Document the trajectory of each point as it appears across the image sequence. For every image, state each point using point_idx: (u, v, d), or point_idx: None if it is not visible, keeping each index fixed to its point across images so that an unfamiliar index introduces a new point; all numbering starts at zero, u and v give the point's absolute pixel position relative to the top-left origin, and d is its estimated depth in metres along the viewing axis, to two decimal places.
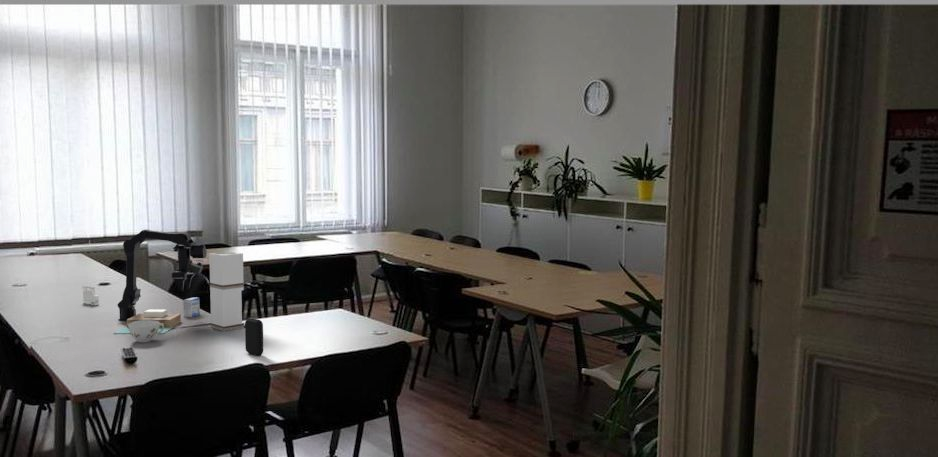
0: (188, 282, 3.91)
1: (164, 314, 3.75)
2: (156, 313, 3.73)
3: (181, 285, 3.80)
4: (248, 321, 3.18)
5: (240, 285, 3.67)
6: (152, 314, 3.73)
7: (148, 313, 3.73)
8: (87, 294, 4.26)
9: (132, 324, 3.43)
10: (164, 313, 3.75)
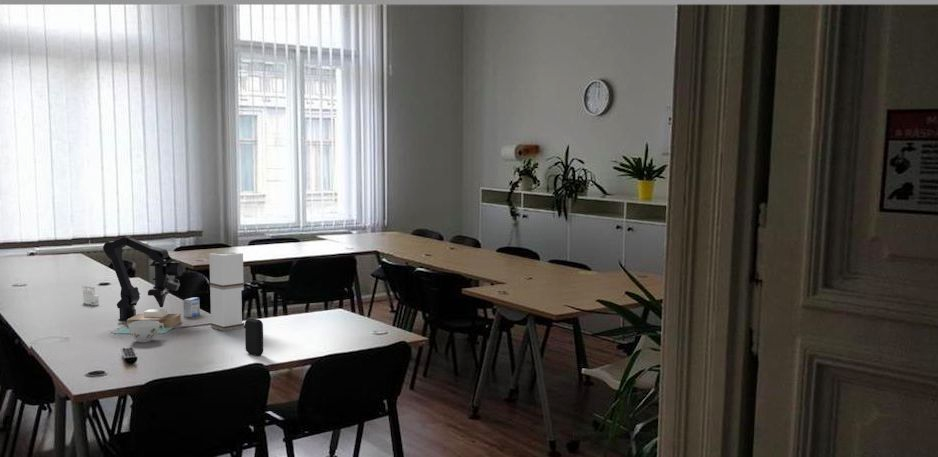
0: None
1: (164, 314, 3.75)
2: (156, 313, 3.73)
3: (161, 301, 3.82)
4: (248, 321, 3.18)
5: (240, 285, 3.67)
6: (152, 314, 3.73)
7: (148, 313, 3.73)
8: (87, 294, 4.26)
9: (132, 324, 3.43)
10: (164, 313, 3.75)
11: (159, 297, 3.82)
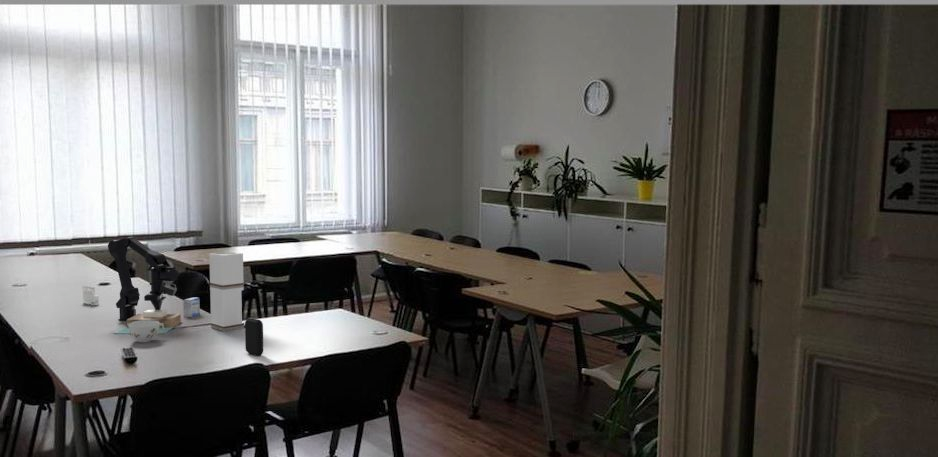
0: None
1: (163, 314, 3.74)
2: (155, 313, 3.72)
3: (157, 306, 3.78)
4: (248, 321, 3.18)
5: (240, 285, 3.67)
6: (151, 314, 3.72)
7: (147, 313, 3.72)
8: (87, 294, 4.26)
9: (132, 324, 3.43)
10: (163, 313, 3.75)
11: (156, 302, 3.77)
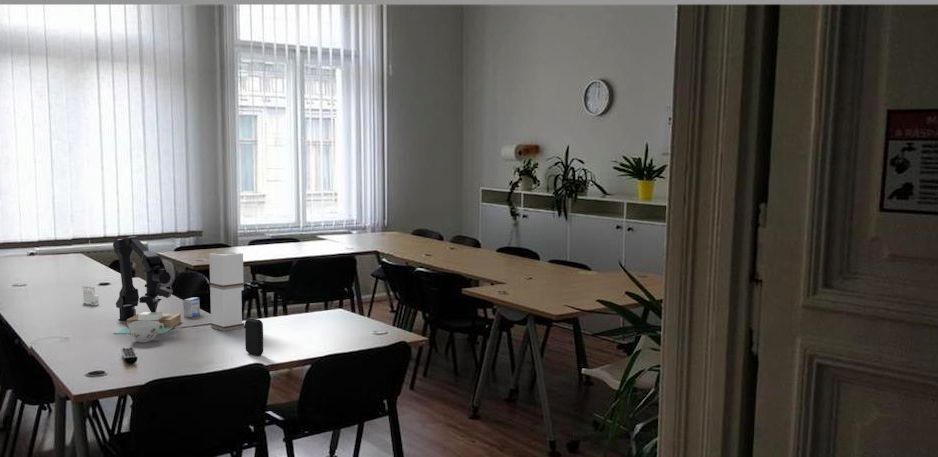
0: None
1: (159, 317, 3.69)
2: (151, 316, 3.66)
3: (153, 308, 3.72)
4: (248, 321, 3.18)
5: (240, 285, 3.67)
6: (147, 317, 3.66)
7: (143, 316, 3.66)
8: (87, 294, 4.26)
9: (132, 324, 3.43)
10: (159, 315, 3.69)
11: (151, 304, 3.72)
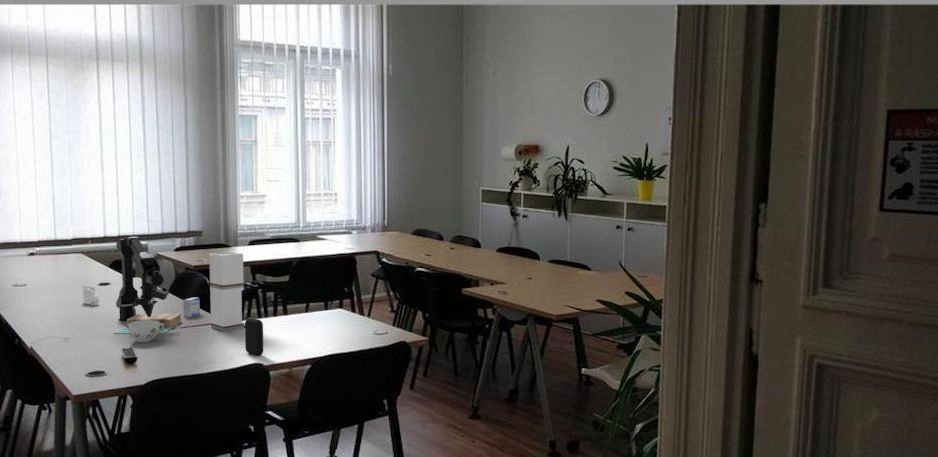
0: None
1: None
2: None
3: (148, 310, 3.66)
4: (248, 321, 3.18)
5: (240, 285, 3.67)
6: None
7: None
8: (87, 294, 4.26)
9: (132, 324, 3.43)
10: None
11: (147, 306, 3.66)
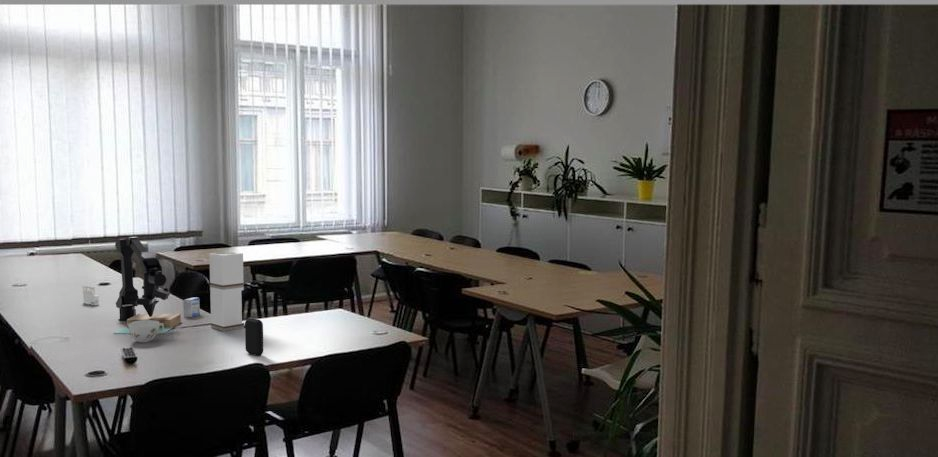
0: None
1: None
2: None
3: (150, 310, 3.69)
4: (248, 321, 3.18)
5: (240, 285, 3.67)
6: None
7: None
8: (87, 294, 4.26)
9: (132, 324, 3.43)
10: None
11: (148, 306, 3.69)
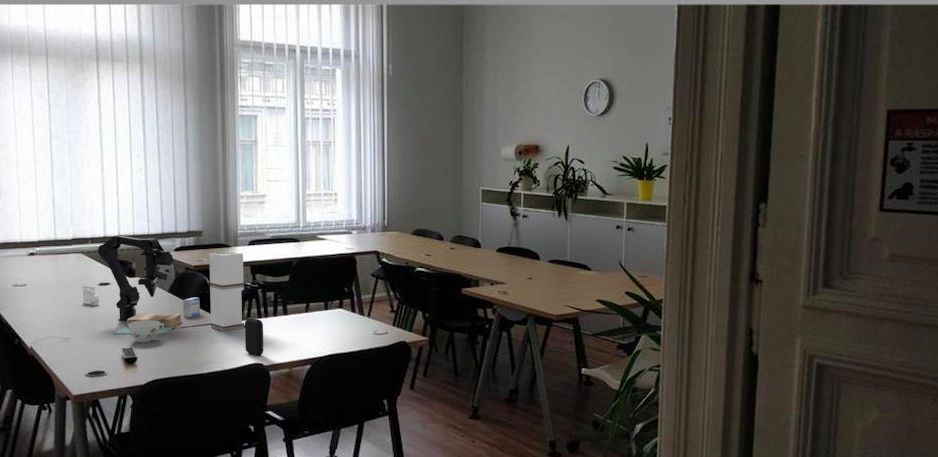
0: None
1: None
2: None
3: (151, 290, 3.81)
4: (247, 321, 3.18)
5: (240, 285, 3.67)
6: None
7: None
8: (87, 294, 4.26)
9: (132, 324, 3.43)
10: None
11: (150, 286, 3.80)
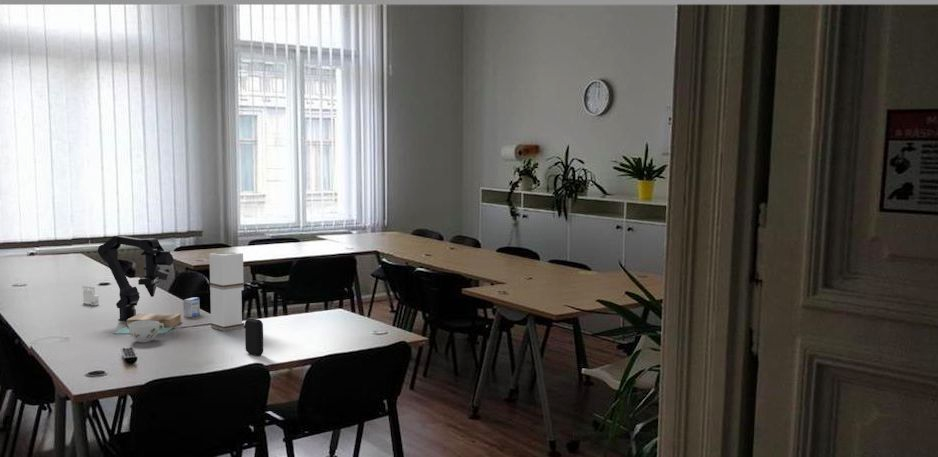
0: None
1: None
2: None
3: (152, 290, 3.81)
4: (248, 321, 3.18)
5: (241, 285, 3.67)
6: None
7: None
8: (87, 294, 4.26)
9: (132, 324, 3.43)
10: None
11: (150, 286, 3.80)
